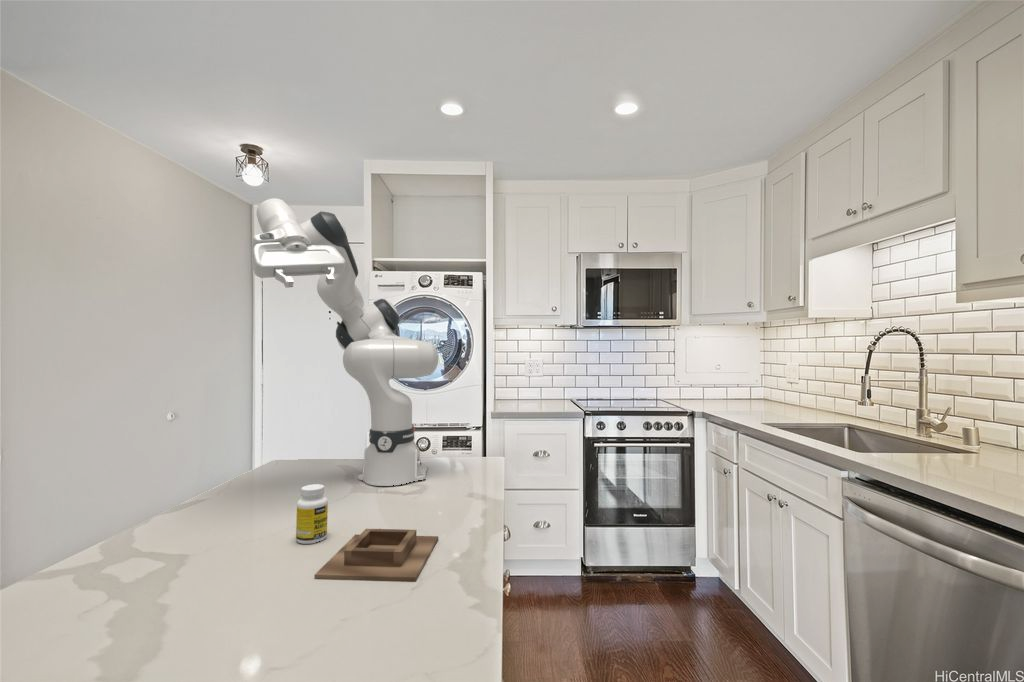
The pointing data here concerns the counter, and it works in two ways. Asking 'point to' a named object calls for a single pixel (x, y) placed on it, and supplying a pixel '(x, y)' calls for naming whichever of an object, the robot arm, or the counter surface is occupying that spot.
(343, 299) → the robot arm
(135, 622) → the counter surface
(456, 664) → the counter surface
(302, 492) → the supplement bottle
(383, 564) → the walnut can holder
